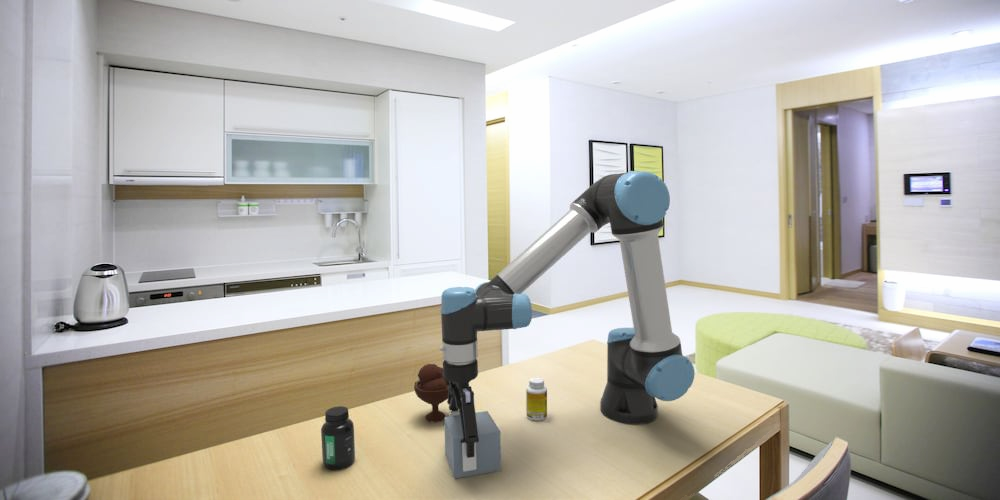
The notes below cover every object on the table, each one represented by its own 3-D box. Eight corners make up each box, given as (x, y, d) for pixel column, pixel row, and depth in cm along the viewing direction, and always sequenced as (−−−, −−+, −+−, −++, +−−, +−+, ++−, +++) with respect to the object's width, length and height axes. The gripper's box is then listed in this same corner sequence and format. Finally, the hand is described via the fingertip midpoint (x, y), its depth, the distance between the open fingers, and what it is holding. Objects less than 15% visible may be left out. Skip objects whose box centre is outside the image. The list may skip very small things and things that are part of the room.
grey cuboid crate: (488, 446, 110) (487, 410, 109) (500, 470, 100) (500, 431, 99) (445, 453, 107) (444, 417, 106) (454, 478, 97) (453, 438, 96)
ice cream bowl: (449, 428, 119) (448, 371, 117) (408, 425, 121) (406, 369, 119) (461, 410, 129) (460, 358, 127) (422, 407, 131) (421, 355, 130)
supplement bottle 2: (548, 421, 122) (548, 383, 121) (527, 421, 122) (527, 384, 121) (545, 411, 128) (545, 375, 127) (525, 412, 128) (525, 376, 127)
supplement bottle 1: (332, 475, 99) (329, 421, 98) (317, 463, 104) (314, 411, 102) (361, 461, 104) (358, 410, 103) (345, 450, 109) (343, 401, 107)
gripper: (433, 344, 111) (436, 429, 113) (454, 382, 87) (457, 489, 90) (464, 341, 113) (466, 424, 115) (492, 377, 90) (494, 481, 92)
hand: (462, 453), depth 102 cm, fingers open, 13 cm apart
